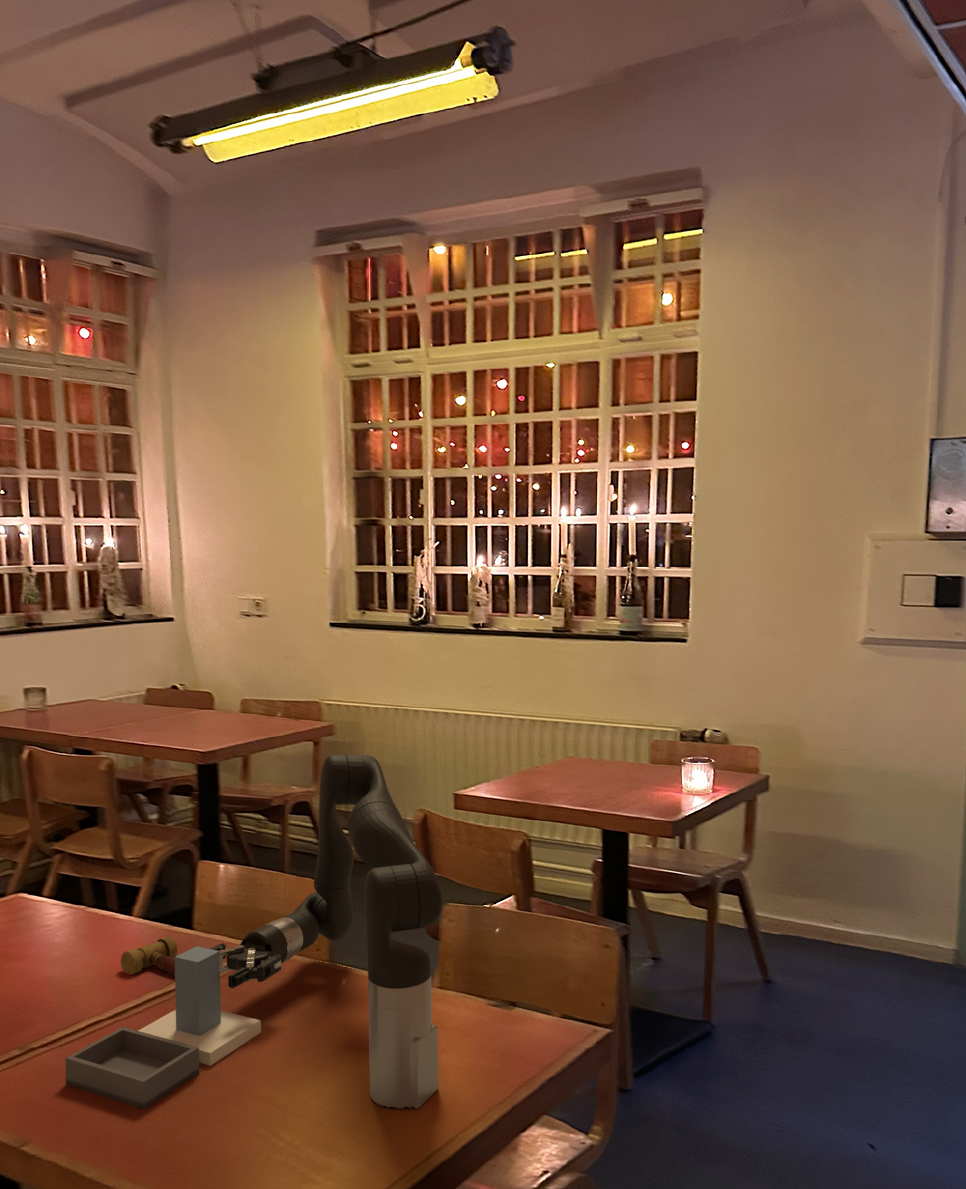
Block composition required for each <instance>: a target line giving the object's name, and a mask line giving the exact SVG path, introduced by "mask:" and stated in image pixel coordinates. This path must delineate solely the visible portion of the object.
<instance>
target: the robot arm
mask: <svg viewBox="0 0 966 1189" xmlns="http://www.w3.org/2000/svg"><path fill="white" fill-rule="evenodd" d="M318 802H319V804H318V805H319V806H318V847H317V848H318V850H317V856H316V857H317V859H316V864H315V870H314V878H313V887H314V890H315V892H312V893H310V894H308V895H307V897H306V898H305V899H304V900H303V901H302V902H301V903H300V904H299V905H298V907H296V908H295V910H294V911H292V912H291V913H289V914H287V915H284V916H283V917H281V918H279V919H274V920H272V921H270V922H268V923H267V924H264V925H262V926H260V927H258V928H256V929H255V930H252V931H249V933H247V934H246V935H245V936H244V937H243V939H242V941H241V942H240V944H239V945H235V946H233V947H230V948H227V946H226V945H227V944H226V943H224V942H223V943H219V944H217V945H214V946H212V947H210V948H209V949H212V950H216V951H220V973H224V972H229V971H230V972H231V971H234V972H232V973H230V974H229V975H228V978H227V981H228V982H227V983H228V988H229V989H236V988H237V987H239V986H240V985H243V984H244V983H247V982H253V981H255V980H257V982H259V983H262V982H264V981H266V980H269V979H270V978H271V977H272V976H274V975H276V974H277V973H279V972H281V970H282V964H284V963H285V962H287V961H288V960H290V959H292V958H293V957H294V956H295V955H297V954H299V953H300V952H302V951H304V950H306V949H307V948H309V947H310V946H312V945H313V944H314V943H315V942H316V941H317V940H318V938H319V935H321V936H322V937H324V938H326V939H327V940H330V941H340V940H341V939H343V938H344V937H345V936H346V935H348V933H349V932H350V930H351V927H352V925H353V921H354V905H353V904H354V903H353V898H352V890H351V886H350V885H351V884H350V883H351V879H352V874H353V867H354V851H355V853H356V855H357V857H359V859H361V861H362V862H364V863H365V864H367V865H368V866H370V867H372V868H371V869H369V871H368V873H367V874H366V876H365V881H364V893H363V894H364V895H363V896H364V909H365V921H366V943H367V947H366V948H367V983H368V984H367V986H368V988H367V991H368V997H367V998H368V1001H367V1002H368V1003H367V1004H368V1038H369V1039H368V1051H369V1054H368V1056H369V1057H368V1058H369V1060H368V1061H369V1062H368V1063H369V1064H368V1065H369V1066H368V1068H369V1096H370V1099H371V1100H372V1101H373V1102H374V1103H375V1104H377V1105H379V1106H381V1105H382V1107H384V1106H386V1108H389V1107H397V1108H396V1109H405V1108H404V1107H408V1108H412V1107H414V1108H413V1109H420V1107H422V1105H424V1104H425V1103H426V1102H427V1100H429V1098H431V1096H433V1095H434V1094H435V1093H436V1092H437V1090H439V1048H438V1047H439V1040H438V1039H439V1038H438V1037H439V1036H438V1032H439V1031H438V1029H439V1028H438V1025H437V1024H434V1023H433V1021H432V1020H433V1017H432V1014H433V1013H432V1009H433V1008H432V1003H433V1002H432V961H431V957H430V955H429V953H428V951H426V950H424V949H423V948H421V947H418V946H415V945H412V944H408V943H405V942H400V941H399V940H396V939H394V938H392V933H397V932H403V931H404V932H405V931H411V930H412V931H413V930H419V929H425V928H427V927H431V926H433V925H434V924H435V923H437V921H438V920H439V919H440V917H441V915H442V913H443V912H442V910H443V895H442V893H443V892H442V889H441V885H440V883H439V879H438V877H437V875H436V872H435V871H434V868H433V867H432V866H431V864H430V862H429V861H428V860H427V858H426V857H425V856H424V854H423V853H422V852H421V851H420V850H419V848H418V846H417V845H416V844H415V842H414V840H413V838H412V836H411V834H410V832H409V830H408V827H407V825H406V823H405V821H404V819H403V817H402V815H401V813H400V811H399V809H398V808H397V805H396V804H395V802H394V800H393V798H392V796H391V794H390V791H389V790H388V786H387V782H386V778H385V776H384V772H383V770H382V767H381V765H380V763H379V761H378V759H377V758H376V757H373V755H372V756H371V755H368V754H329V755H328V756H327V757H326V758H325V760H324V761H323V764H322V767H321V774H320V782H319V801H318ZM337 805H338V806H340V805H341V806H343V805H345V806H347V805H348V806H349V805H352V806H354V807H353V808H352V810H351V812H350V813H349V816H348V819H347V831H348V836H349V838H348V836H347V835H346V833H345V832H344V829H343V828H342V826H341V823H340V822H339V820H338V819H339V818H338V816H337ZM349 839H350V841H349ZM353 849H354V850H353ZM225 959H226V965H224V960H225Z"/></svg>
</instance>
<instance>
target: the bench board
mask: <svg viewBox="0 0 966 1189" xmlns="http://www.w3.org/2000/svg"><path fill="white" fill-rule="evenodd" d="M137 1031H140V1032H144V1033H147V1034H151V1035H155V1036H158V1037H162V1038H166V1039H170V1040H173V1041H177V1042H181V1043H184V1044H188V1045H192V1046H195V1047H199V1064H203V1065H207V1066H210V1067H211V1066H212V1065H214V1064H215V1063H217V1062H219V1061H220V1060H222V1059H224V1058H225V1057H226V1056H227V1055H229V1054H230V1053H232V1052H234V1051H235V1050H237V1049H238V1048H239V1047H241V1046H242V1045H244V1044H245V1043H247V1042H248V1041H251V1040H252V1039H253V1038H254V1037H257V1036H259V1034H261V1032H262V1021H261V1020H260V1019H257V1018H251V1017H249V1016H248V1017H247V1016H244V1015H240V1014H236V1013H231V1012H228V1011H224V1010H221V1023H220V1024H218V1025H217V1026H215V1027H213V1028H212V1029H210V1030H208V1031H207V1032H205V1033H204V1034H202V1035H200V1036H197V1035H194V1034H190V1033H186V1032H182V1031H178V1030H176V1009H175V1010H173V1011H171V1012H169V1013H167V1014H164V1016H162V1017H160V1018H158V1019H157V1020H155V1021H153V1022H151V1023H149V1024H148V1025H146V1026H143V1027H142V1028H140V1029H139V1030H137Z"/></svg>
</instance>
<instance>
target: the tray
mask: <svg viewBox="0 0 966 1189" xmlns="http://www.w3.org/2000/svg"><path fill="white" fill-rule="evenodd" d="M64 1061H65V1062H64V1063H65V1085H67V1086H70V1087H72V1088H76V1089H79V1090H82V1091H85V1092H88V1093H92V1094H95V1095H99V1096H101V1097H103V1098H108V1099H110V1100H114V1101H116V1102H119V1103H123V1104H126V1105H129V1106H132V1107H136V1108H139V1109H141V1110H146V1109H147V1108H149V1107H150V1106H152V1105H154V1104H155V1103H157V1102H158V1101H160V1100H161V1099H163V1098H165V1096H168V1095H169V1094H170V1093H171V1092H173V1091H175V1090H176V1089H178V1088H179V1087H181V1086H183V1085H184V1084H185V1083H186V1082H187V1083H188V1082H189V1081H190V1080H191V1079H193V1078H194V1077H196V1076H197V1075H199V1074H200V1063H199V1047H195V1046H192V1045H188V1044H184V1043H181V1042H177V1041H173V1040H170V1039H166V1038H162V1037H158V1036H155V1035H151V1034H147V1033H144V1032H140V1031H138V1030H137V1029H136V1030H135V1029H133V1028H129V1027H128V1028H127V1027H125V1026H121V1027H120V1028H118V1029H116V1030H114V1031H113V1032H111V1033H109V1034H107V1035H105V1036H103V1037H102V1038H100V1039H98V1040H96V1041H94V1042H92V1043H91V1044H89V1045H86V1046H85V1047H83V1048H81V1049H79V1050H78V1051H76V1052H74V1053H73V1054H70V1055H68V1056H67V1057H65V1060H64Z"/></svg>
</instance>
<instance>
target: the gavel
mask: <svg viewBox="0 0 966 1189" xmlns="http://www.w3.org/2000/svg"><path fill="white" fill-rule="evenodd" d="M177 954H178V946H177V943H176V940H175V939H174V938H173V937H172V936H170V935H166V936H164V937H162V938H161V937H160V938H159V939H158V940H157V941H156V942H152V943H149V944H148V945H144V946H142V947H139V948H131V949H129V950H125V951H123V953H121V956H120V966H121V969H122V971H123V972H124V971H125V972H127V973H129V974H133V975H135V974H137V972H138V973H140V972H141V971H142V970H143V969H142V968H144V969H147V968H150V967H152V966H157V967H158V968H159V969H160V970H163V971H165V972H166V973H167V972H168V973H170V974H171V975H173V976H175V957H176V956H178V955H177ZM173 958H174V959H173ZM125 972H124V973H125ZM129 974H128V975H129Z"/></svg>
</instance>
